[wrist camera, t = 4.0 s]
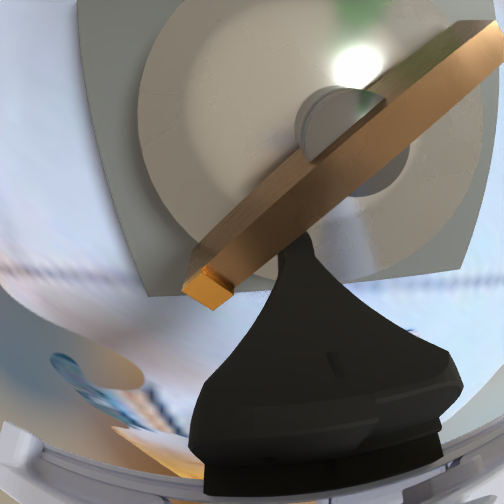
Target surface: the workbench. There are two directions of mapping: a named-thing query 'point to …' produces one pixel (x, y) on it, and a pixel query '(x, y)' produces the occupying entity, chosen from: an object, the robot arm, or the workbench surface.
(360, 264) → the dial
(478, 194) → the stand plate
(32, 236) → the workbench surface
